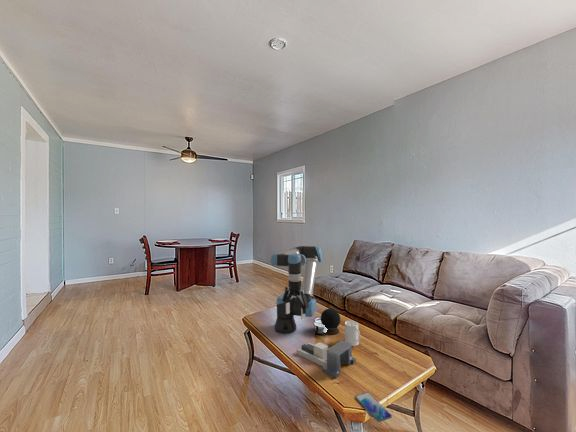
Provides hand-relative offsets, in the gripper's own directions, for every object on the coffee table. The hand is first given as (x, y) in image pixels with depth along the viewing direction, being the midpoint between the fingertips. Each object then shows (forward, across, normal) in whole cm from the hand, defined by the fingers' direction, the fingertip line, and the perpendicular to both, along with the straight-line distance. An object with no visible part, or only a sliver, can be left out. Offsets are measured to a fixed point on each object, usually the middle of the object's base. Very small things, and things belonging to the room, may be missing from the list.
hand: (295, 316), depth 158 cm
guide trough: (+18, +17, 0) cm, 25 cm away
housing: (+18, +31, 0) cm, 36 cm away
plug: (+18, +14, 0) cm, 23 cm away
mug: (+18, +24, +26) cm, 40 cm away
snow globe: (+19, +4, +31) cm, 36 cm away
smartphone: (+19, +56, -16) cm, 61 cm away
